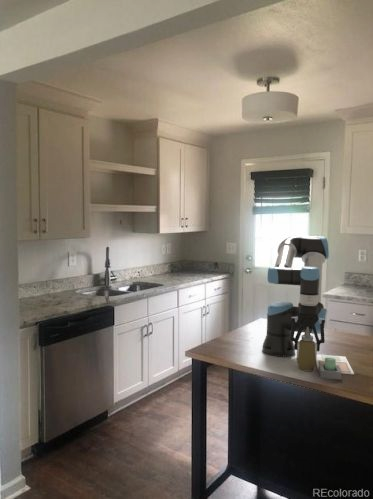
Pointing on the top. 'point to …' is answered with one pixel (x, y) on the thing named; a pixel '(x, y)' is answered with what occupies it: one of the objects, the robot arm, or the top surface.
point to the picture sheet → (340, 361)
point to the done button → (330, 364)
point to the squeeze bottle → (306, 352)
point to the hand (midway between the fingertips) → (306, 357)
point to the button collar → (330, 372)
